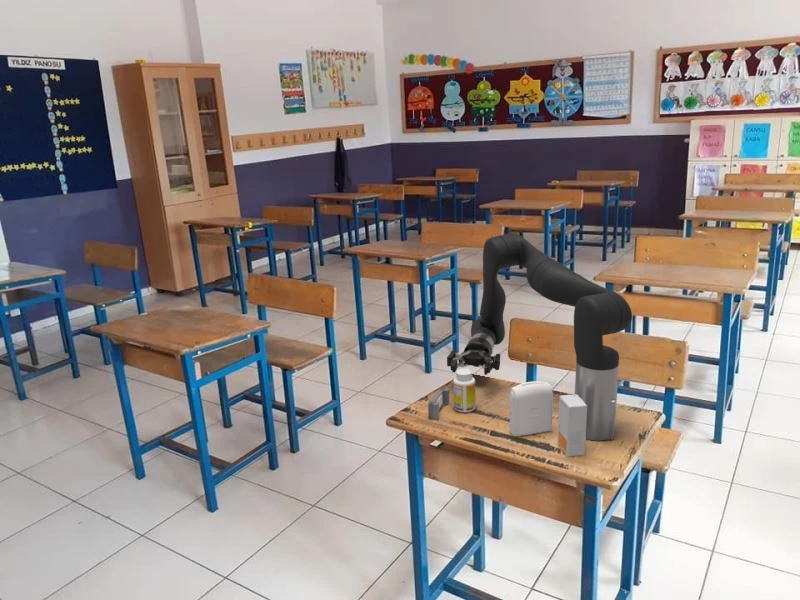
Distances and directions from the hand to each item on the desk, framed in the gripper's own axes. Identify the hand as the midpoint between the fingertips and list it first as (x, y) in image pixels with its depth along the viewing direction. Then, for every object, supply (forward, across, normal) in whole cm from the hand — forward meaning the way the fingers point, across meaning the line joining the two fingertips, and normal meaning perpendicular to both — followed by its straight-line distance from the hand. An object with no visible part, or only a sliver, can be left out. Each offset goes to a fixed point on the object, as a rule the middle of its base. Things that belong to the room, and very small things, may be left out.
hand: (469, 370), depth 165 cm
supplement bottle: (+7, 0, +8) cm, 11 cm away
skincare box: (+22, +27, +8) cm, 36 cm away
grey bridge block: (+10, -7, +8) cm, 14 cm away
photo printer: (+16, +17, +8) cm, 25 cm away
